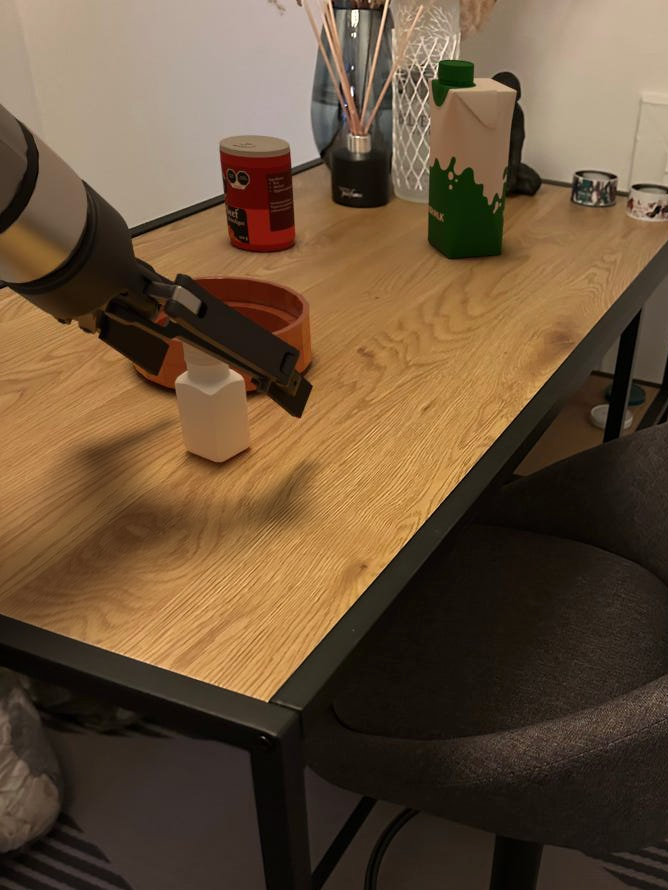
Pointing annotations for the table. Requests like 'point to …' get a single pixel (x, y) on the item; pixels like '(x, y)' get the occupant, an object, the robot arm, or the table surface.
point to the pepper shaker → (212, 407)
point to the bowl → (260, 304)
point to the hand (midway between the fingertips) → (229, 380)
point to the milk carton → (468, 160)
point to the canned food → (258, 192)
